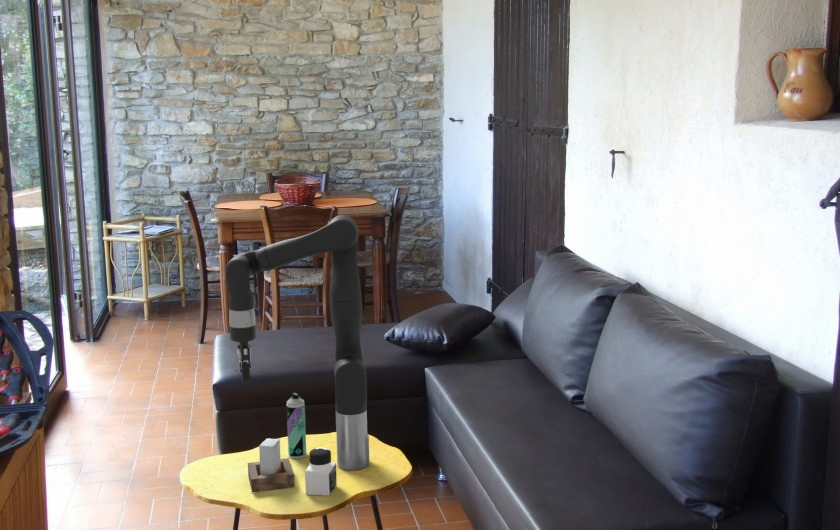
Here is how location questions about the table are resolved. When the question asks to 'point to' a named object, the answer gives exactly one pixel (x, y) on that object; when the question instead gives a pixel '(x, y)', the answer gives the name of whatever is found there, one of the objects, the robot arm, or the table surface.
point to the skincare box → (270, 457)
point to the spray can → (296, 427)
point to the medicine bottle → (320, 473)
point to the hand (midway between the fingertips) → (245, 376)
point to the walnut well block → (271, 477)
